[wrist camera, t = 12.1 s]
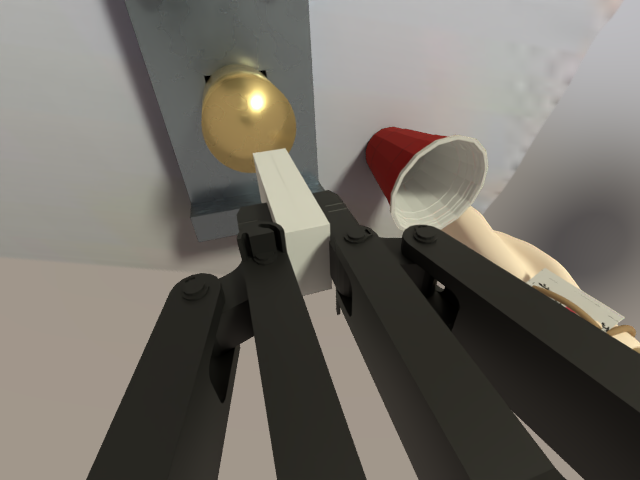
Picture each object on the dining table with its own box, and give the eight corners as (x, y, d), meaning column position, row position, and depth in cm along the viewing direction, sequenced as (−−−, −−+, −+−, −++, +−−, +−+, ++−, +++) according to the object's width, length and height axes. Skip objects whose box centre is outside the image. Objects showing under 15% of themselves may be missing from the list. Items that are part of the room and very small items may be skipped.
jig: (110, -65, 23) (86, -86, 18) (295, -66, 26) (314, -85, 21) (199, 213, 37) (198, 242, 33) (313, 193, 40) (327, 216, 35)
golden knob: (193, 64, 29) (189, 82, 20) (267, 57, 30) (291, 72, 22) (212, 138, 33) (214, 179, 24) (277, 130, 34) (299, 165, 26)
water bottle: (400, 224, 47) (567, 401, 25) (443, 177, 45) (672, 329, 23) (436, 250, 53) (598, 413, 31) (476, 209, 50) (685, 357, 28)
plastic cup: (376, 204, 44) (423, 255, 35) (329, 153, 38) (370, 198, 28) (438, 149, 42) (505, 187, 32) (399, 84, 36) (468, 108, 26)
